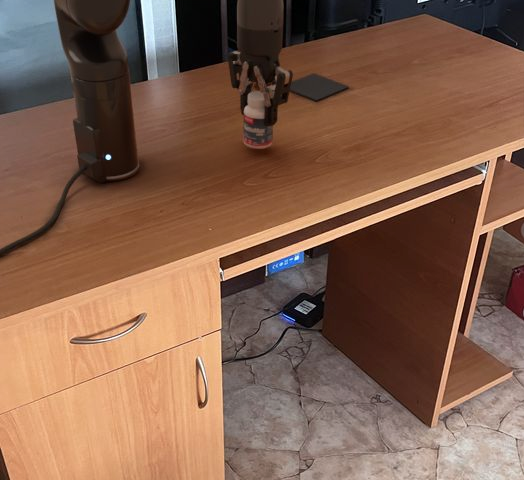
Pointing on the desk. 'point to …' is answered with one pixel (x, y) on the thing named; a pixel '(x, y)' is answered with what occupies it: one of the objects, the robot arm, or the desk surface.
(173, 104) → the desk surface
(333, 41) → the desk surface
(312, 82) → the coaster
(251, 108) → the pill bottle
